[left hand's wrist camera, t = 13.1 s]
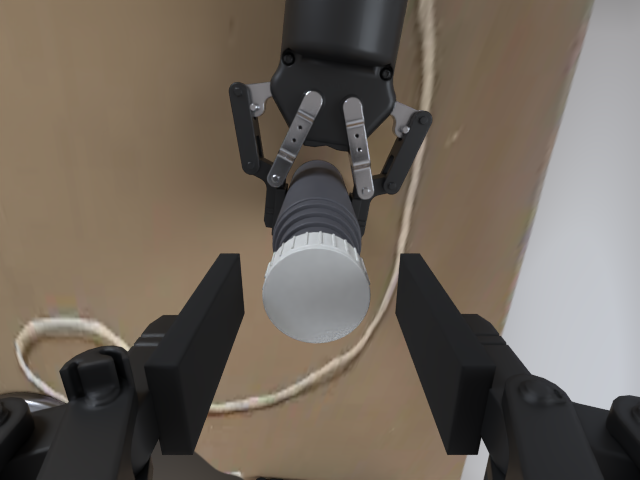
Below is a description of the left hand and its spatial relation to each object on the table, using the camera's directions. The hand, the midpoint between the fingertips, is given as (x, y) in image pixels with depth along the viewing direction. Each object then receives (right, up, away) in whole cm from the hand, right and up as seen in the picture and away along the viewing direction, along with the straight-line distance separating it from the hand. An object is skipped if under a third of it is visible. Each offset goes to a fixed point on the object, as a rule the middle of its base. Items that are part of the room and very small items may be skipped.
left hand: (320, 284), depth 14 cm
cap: (0, 0, -1) cm, 1 cm away
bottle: (0, +7, +18) cm, 20 cm away
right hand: (0, +2, +13) cm, 14 cm away
